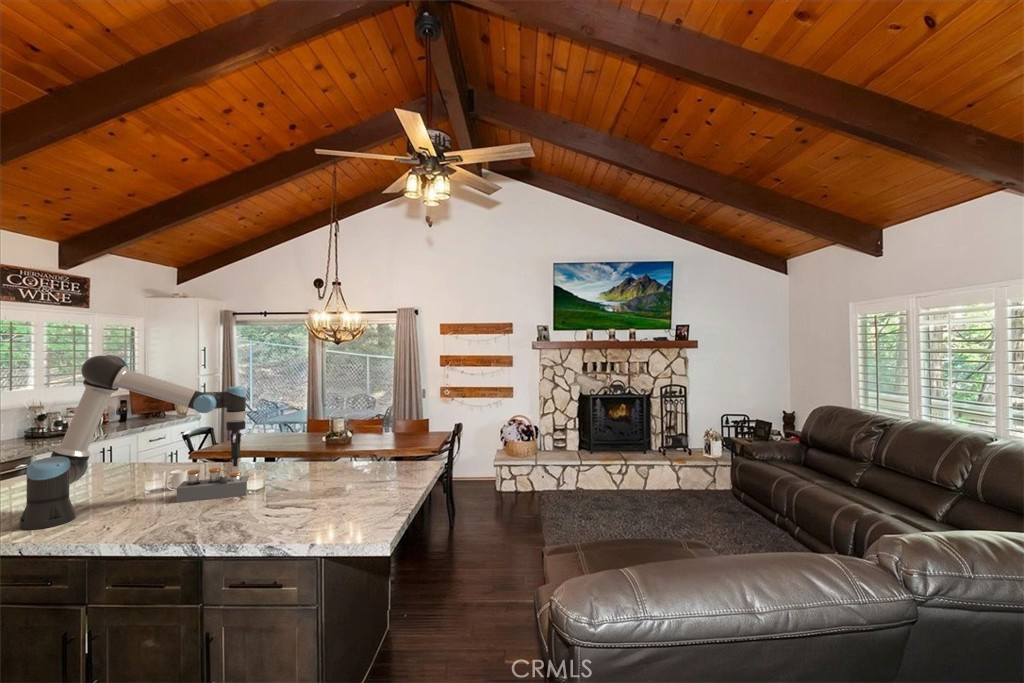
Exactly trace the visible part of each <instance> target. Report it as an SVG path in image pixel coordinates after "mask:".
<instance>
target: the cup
mask: <svg viewBox="0 0 1024 683" xmlns="http://www.w3.org/2000/svg"><path fill="white" fill-rule="evenodd" d="M187 471H189V470H188V469H177V470H172V471H170V472H169V475H168V476H167V477H166V479H165V484H164V486H165V487H166V488H167V489H169V490H171V491H177V488H178V487H179V486H180V485H181V483H182V482H183V481H187V478H188V473H187ZM169 479H170V483H171V486H172V488H170V487H169V485H168V482H169Z"/></svg>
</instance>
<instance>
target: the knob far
mask: <svg viewBox="0 0 1024 683" xmlns="http://www.w3.org/2000/svg"><path fill="white" fill-rule="evenodd" d="M240 476H242V472H241V471H239V473H235V474H232V472H230V473H229V477H230V482H232V481H240Z"/></svg>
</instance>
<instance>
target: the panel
mask: <svg viewBox="0 0 1024 683" xmlns="http://www.w3.org/2000/svg"><path fill="white" fill-rule="evenodd" d="M248 478H249V479H250V475H240V481H232V482H230V476H229V477H228V476H227V483H226V484H220V483H210V484H209V482H210V478H209V479H199V485H188V480H186V481H183V482H182V483H181V485H180V486H179V487H178V488H177V490H176V503H186V502H187V503H188V502H189V503H190V502H195V501H196V502H199V501H205V500H216V499H225V498H226V499H228V498H235V497H244V496H247V494H248V492H247V481H248Z"/></svg>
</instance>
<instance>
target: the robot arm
mask: <svg viewBox="0 0 1024 683" xmlns="http://www.w3.org/2000/svg"><path fill="white" fill-rule="evenodd" d="M81 376H82V377H83V382H82V385H83V387H85V389H84V391H83V393H82V396H81V398H80V401H79V403H78V405H77V407H76V409H75V412H74V414H73V416H72V418H71V420H70V423H69V425H68V428H67V430H66V433H65V434H64V437H63V439H62V442H61V444H60V445H58V446H57V447H55V448H53V450H52V452H51V453H50V454H51V455H50V457H49V456H48V457H44V458H40V459H36V460H34V461H32V462H30V463H28V465H27V467H26V468H27V469H26V473H25V474H26V475H25V476H26V498H25V499H26V502H25V508H24V510H23V512H22V514H21V517H20V519H19V524H18V526H19V527H18V528H19V529H20V530H30V531H31V530H41V529H46V528H52V527H56V526H59V525H60V526H61V525H64V524H67V523H69V522H71V521H73V520H75V518H76V511H75V508H74V506H73V504H72V501H71V499H70V487H71V486H70V485H72V484H73V483H75V482H77V481H78V480H81V478H83V476H84V475H85V474H86V472H87V471H88V469H89V468H88V467H89V459H90V456H91V453H90V451H89V450H88V449H89V446H90V445H91V442H92V440H93V438H94V435H95V433H96V431H97V428H98V427H99V424H100V422H101V419H102V417H103V415H104V412H105V410H106V408H107V405H108V403H109V401H110V398H111V396H112V394H114V393H116V392H118V391H119V389H123V390H126V391H130V392H133V393H137V394H140V395H144V396H147V397H150V398H154V399H157V400H161V401H163V402H164V401H165V402H168V403H171V404H175V405H177V406H181V407H185V408H187V409H192V410H195V411H196V412H197V413H200V414H209V413H210V412H212V411H213V410H217V409H226V415H225V418H226V419H225V420H226V425H225V426H226V427H225V428H226V431H230V432H231V434H230V435H229V436H230V449H231V450H230V452H231V455H230V456H231V457H229V460H231V473H232V474H235V473H239V472H240V458H242V455H241V442H242V439H241V438H242V432H240V431H242V430H245V429H246V421H245V420H246V416H247V415H248V413H247V412H246V407H247V406H246V403H247V401H246V399H247V395H246V388H245V387H244V386H227V387H226V390H225V391H202V392H201V391H199V390H195V389H192V388H189V387H186V386H183V385H179V384H177V383H176V384H175V383H172V382H170V381H166V380H162V379H160V378H157V377H154V376H150V375H146V374H143V373H140V372H137V371H134V370H130V368H129V363H128V362H127V361H126V360H125V359H123V358H122V357H120V356H117V355H112V354H106V355H95V356H92V357H89V358H88V359H86V361H84V363H83V364H82V366H81Z"/></svg>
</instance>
